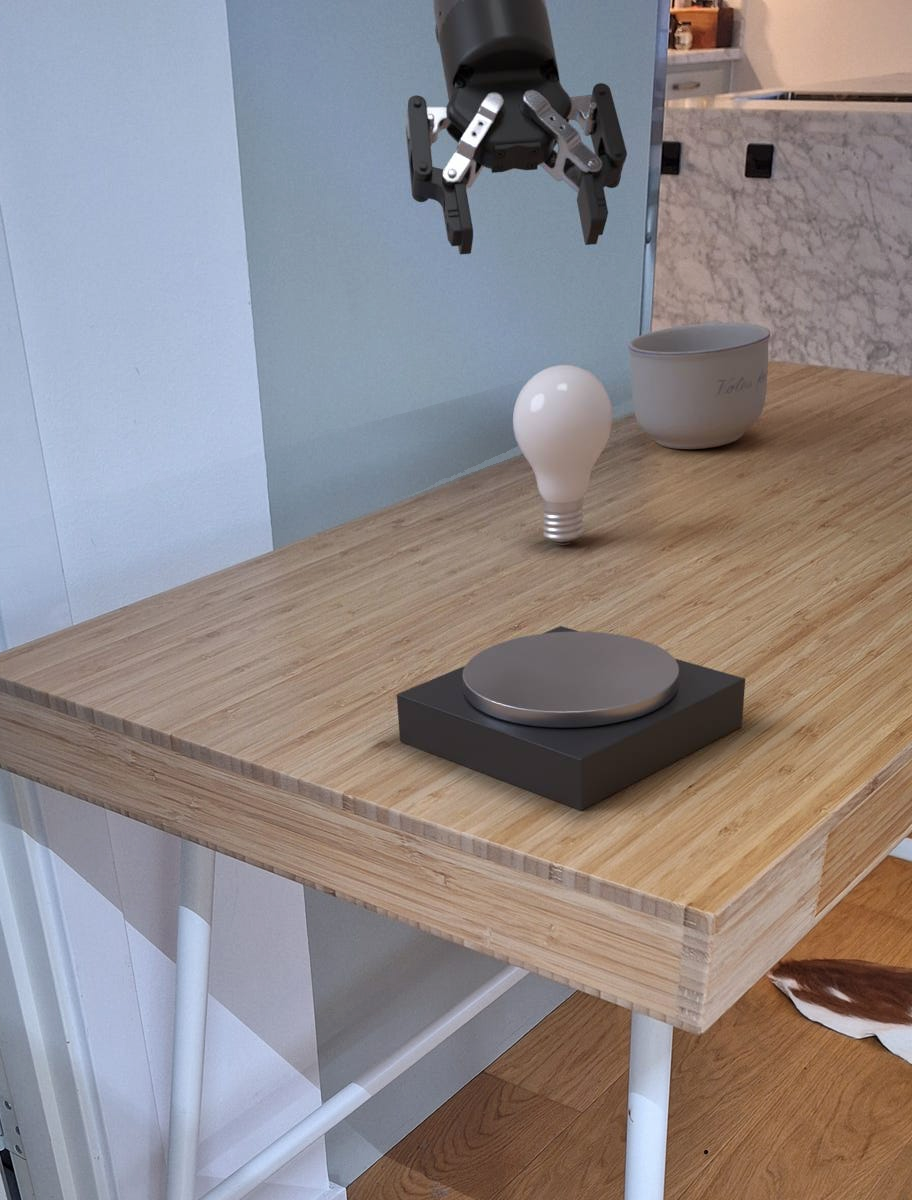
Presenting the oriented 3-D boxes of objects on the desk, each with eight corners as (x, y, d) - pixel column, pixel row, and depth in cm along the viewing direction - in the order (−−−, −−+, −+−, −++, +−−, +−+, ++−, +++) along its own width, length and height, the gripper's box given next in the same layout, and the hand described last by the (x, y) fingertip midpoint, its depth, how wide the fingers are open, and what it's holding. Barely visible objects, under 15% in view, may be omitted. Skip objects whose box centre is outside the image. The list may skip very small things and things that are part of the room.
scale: (560, 670, 80) (560, 625, 78) (742, 726, 72) (746, 678, 71) (399, 741, 73) (395, 693, 72) (581, 811, 66) (581, 759, 64)
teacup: (735, 462, 112) (743, 349, 108) (605, 452, 117) (606, 342, 112) (792, 421, 122) (801, 315, 117) (670, 412, 127) (674, 310, 122)
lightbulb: (504, 556, 96) (499, 376, 90) (529, 527, 101) (526, 355, 95) (598, 560, 95) (600, 377, 88) (620, 531, 100) (623, 355, 93)
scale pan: (561, 631, 77) (561, 616, 77) (722, 678, 71) (723, 662, 70) (419, 691, 72) (418, 675, 71) (580, 747, 65) (580, 730, 65)
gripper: (391, -14, 95) (428, 207, 92) (606, -27, 96) (648, 190, 94) (386, 81, 102) (420, 288, 100) (585, 68, 104) (624, 271, 101)
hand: (530, 241), depth 97 cm, fingers open, 8 cm apart
